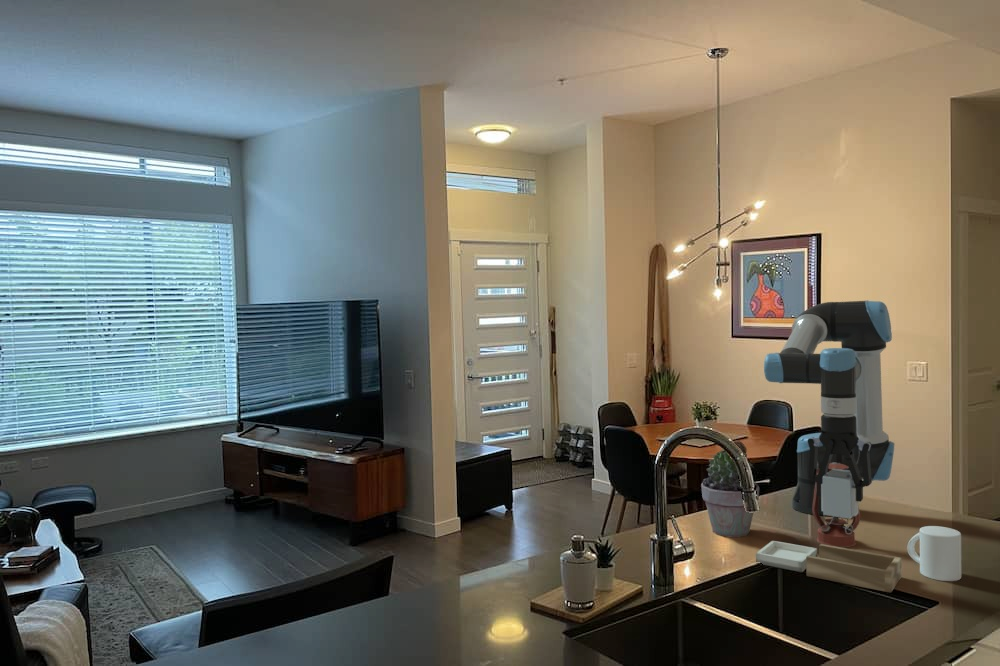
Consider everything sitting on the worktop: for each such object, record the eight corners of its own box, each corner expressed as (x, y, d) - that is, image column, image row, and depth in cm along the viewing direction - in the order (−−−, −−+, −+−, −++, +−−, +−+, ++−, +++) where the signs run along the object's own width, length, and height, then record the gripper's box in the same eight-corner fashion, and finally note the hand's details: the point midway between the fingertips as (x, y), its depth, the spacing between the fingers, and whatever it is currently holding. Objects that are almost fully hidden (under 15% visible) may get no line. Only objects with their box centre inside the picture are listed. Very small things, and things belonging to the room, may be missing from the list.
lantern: (848, 535, 201) (847, 426, 200) (863, 548, 191) (862, 433, 190) (811, 535, 202) (810, 427, 201) (824, 548, 192) (822, 433, 191)
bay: (820, 562, 181) (820, 543, 181) (901, 577, 170) (901, 557, 170) (806, 575, 173) (806, 556, 172) (890, 592, 161) (890, 572, 161)
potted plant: (694, 541, 200) (693, 449, 199) (698, 520, 219) (697, 437, 218) (765, 546, 194) (763, 452, 193) (763, 524, 213) (762, 439, 212)
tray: (772, 550, 191) (772, 540, 191) (817, 558, 184) (816, 548, 184) (756, 563, 182) (755, 553, 182) (802, 572, 175) (802, 561, 175)
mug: (945, 538, 165) (897, 525, 176) (946, 584, 165) (897, 567, 176) (969, 532, 169) (919, 519, 179) (969, 577, 169) (920, 561, 180)
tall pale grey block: (830, 508, 177) (829, 467, 177) (857, 512, 174) (856, 470, 173) (823, 514, 173) (822, 472, 172) (850, 518, 169) (849, 475, 169)
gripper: (791, 413, 175) (793, 510, 176) (879, 420, 163) (880, 523, 164) (801, 409, 181) (802, 502, 182) (887, 415, 169) (888, 514, 170)
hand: (839, 512), depth 173 cm, fingers closed on tall pale grey block, 6 cm apart
